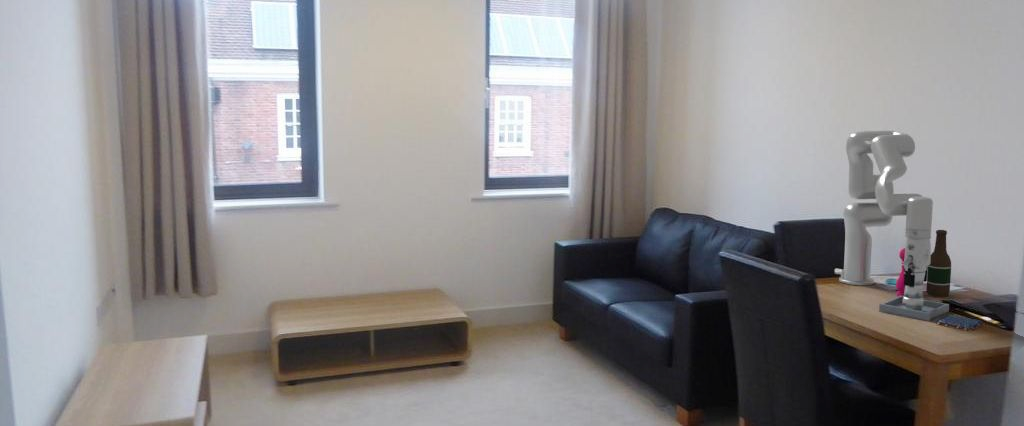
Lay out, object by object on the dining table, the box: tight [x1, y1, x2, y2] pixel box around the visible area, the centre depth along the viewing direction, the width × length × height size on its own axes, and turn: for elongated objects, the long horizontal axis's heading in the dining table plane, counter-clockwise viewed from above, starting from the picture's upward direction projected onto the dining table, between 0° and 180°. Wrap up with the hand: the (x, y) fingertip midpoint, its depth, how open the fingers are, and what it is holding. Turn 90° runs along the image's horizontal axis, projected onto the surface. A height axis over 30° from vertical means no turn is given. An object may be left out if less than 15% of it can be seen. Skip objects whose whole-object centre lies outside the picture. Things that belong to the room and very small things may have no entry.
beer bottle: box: [926, 229, 952, 298], centre depth 267 cm, size 8×8×24 cm
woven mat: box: [936, 314, 984, 332], centre depth 233 cm, size 10×11×2 cm
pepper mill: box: [895, 247, 906, 297], centre depth 264 cm, size 7×7×20 cm
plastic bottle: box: [902, 260, 926, 311], centre depth 246 cm, size 6×7×20 cm
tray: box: [878, 296, 950, 322], centre depth 248 cm, size 16×16×2 cm
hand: (915, 283), depth 247 cm, fingers open, 9 cm apart
